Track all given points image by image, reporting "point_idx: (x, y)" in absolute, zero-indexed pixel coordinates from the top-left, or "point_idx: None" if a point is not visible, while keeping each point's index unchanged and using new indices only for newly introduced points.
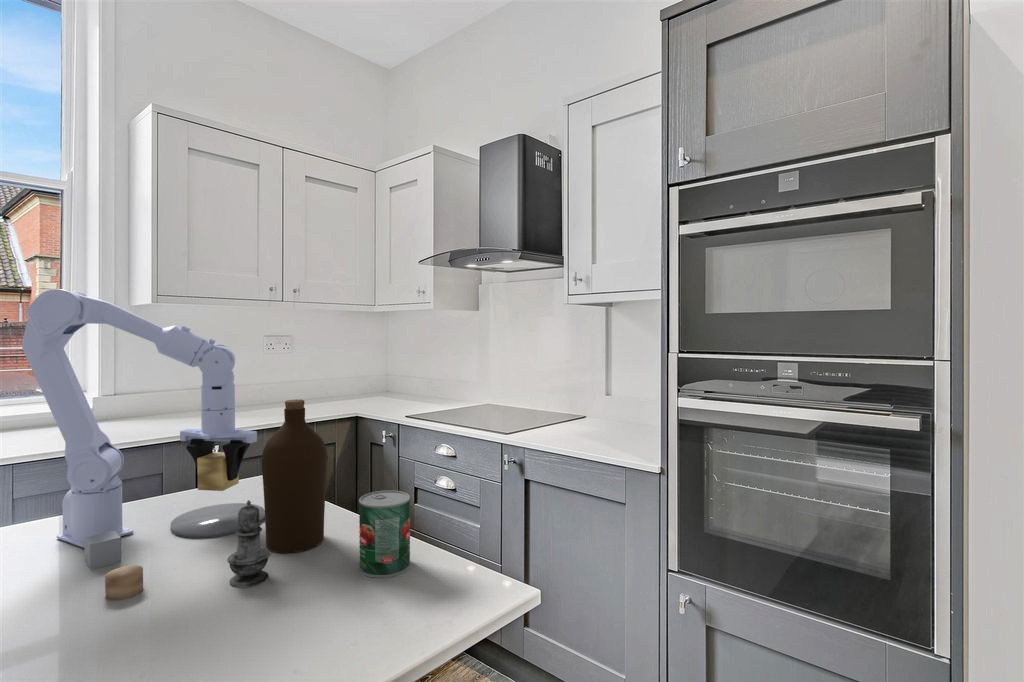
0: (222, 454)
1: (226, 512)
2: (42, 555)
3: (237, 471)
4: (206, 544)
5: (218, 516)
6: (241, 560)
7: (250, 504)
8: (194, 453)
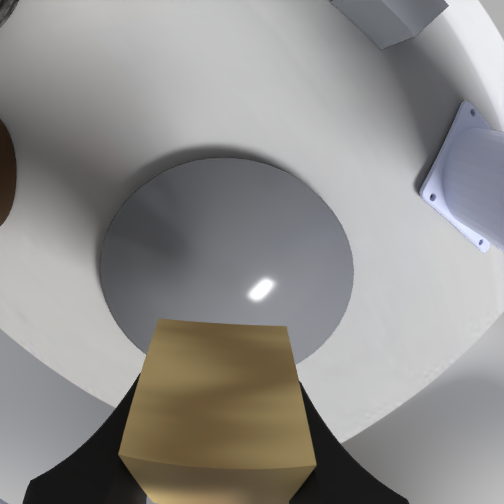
0: (209, 500)
1: None
2: (499, 84)
3: None
4: (152, 113)
5: (228, 297)
6: None
7: None
8: (349, 489)
